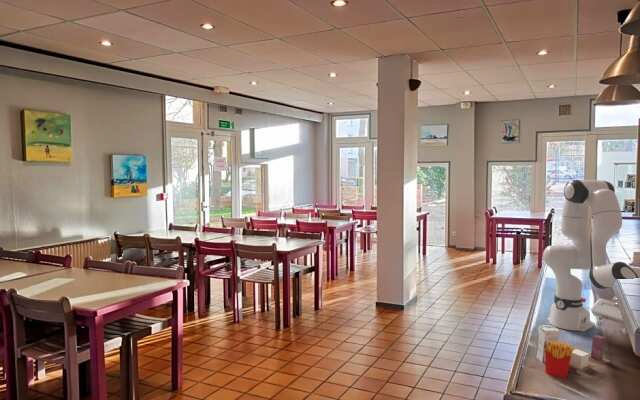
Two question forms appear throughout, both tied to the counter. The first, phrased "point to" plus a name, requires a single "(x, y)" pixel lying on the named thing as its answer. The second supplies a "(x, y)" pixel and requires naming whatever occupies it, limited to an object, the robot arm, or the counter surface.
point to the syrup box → (545, 340)
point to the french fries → (558, 359)
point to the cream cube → (579, 359)
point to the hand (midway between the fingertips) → (610, 329)
